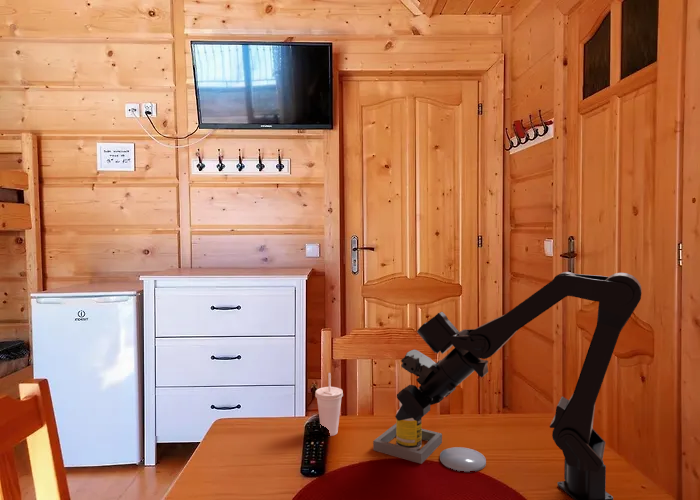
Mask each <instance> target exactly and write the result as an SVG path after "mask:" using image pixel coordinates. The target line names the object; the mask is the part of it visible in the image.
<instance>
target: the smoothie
mask: <svg viewBox="0 0 700 500" xmlns="http://www.w3.org/2000/svg"><path fill="white" fill-rule="evenodd" d="M331 374H332V373H331V372H328V374H327V375H328V378H327V380H328V381H327V382H328V386H324V387H323V386H322V387H320V388H317V389H316V390H315V393H314V394H315V395H314V396H315V398H316V399H317V400H316V402H317V409H318V416H319V423H320V424H321V425H322V426H324V427H326V428H327V429H328V430H329V433H330V436H329V437H333V436H335V435H337V434H338V431H339V423H340V413H341V404H342V397H344V393H343V389H342V388H340V387H336V386H332V380H331V379H332V375H331ZM321 425H320V426H321Z"/></svg>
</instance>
